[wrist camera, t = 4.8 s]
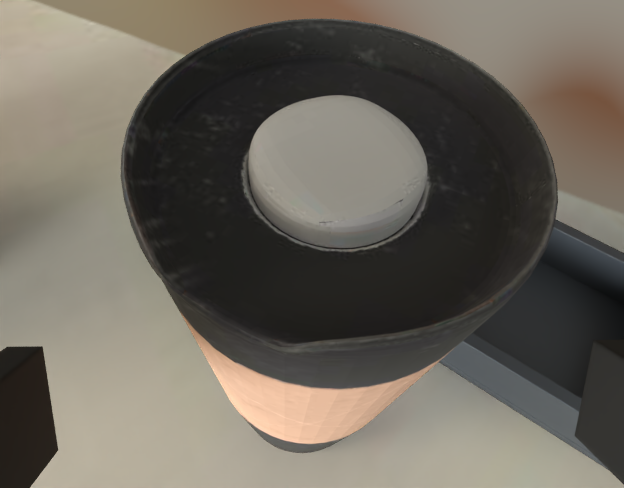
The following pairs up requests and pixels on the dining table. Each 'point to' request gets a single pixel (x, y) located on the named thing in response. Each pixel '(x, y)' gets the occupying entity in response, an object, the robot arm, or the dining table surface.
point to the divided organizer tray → (549, 333)
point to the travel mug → (333, 213)
